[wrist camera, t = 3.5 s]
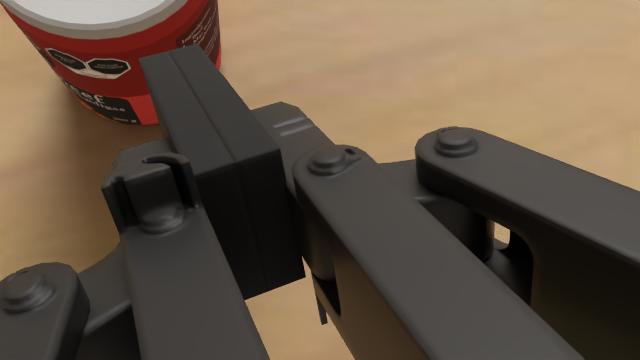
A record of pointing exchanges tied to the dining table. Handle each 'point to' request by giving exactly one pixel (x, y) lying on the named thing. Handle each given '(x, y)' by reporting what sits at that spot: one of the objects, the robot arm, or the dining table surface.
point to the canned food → (114, 45)
